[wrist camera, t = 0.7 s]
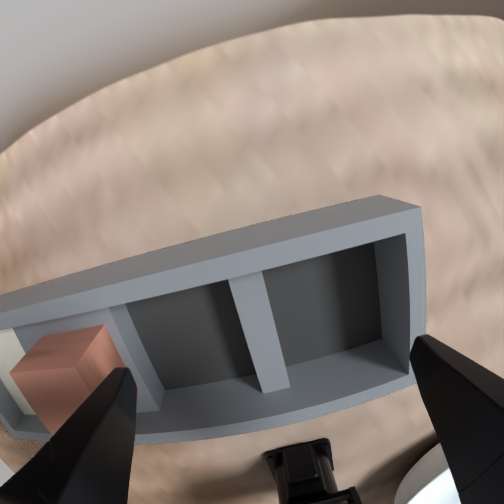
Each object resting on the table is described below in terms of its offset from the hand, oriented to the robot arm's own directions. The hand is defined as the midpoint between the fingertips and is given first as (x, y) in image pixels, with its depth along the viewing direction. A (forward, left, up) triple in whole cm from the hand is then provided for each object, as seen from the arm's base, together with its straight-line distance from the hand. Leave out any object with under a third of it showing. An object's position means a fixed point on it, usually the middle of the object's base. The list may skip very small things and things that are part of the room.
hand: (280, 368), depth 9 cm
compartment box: (-5, +9, -13) cm, 16 cm away
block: (-5, +14, -10) cm, 17 cm away
